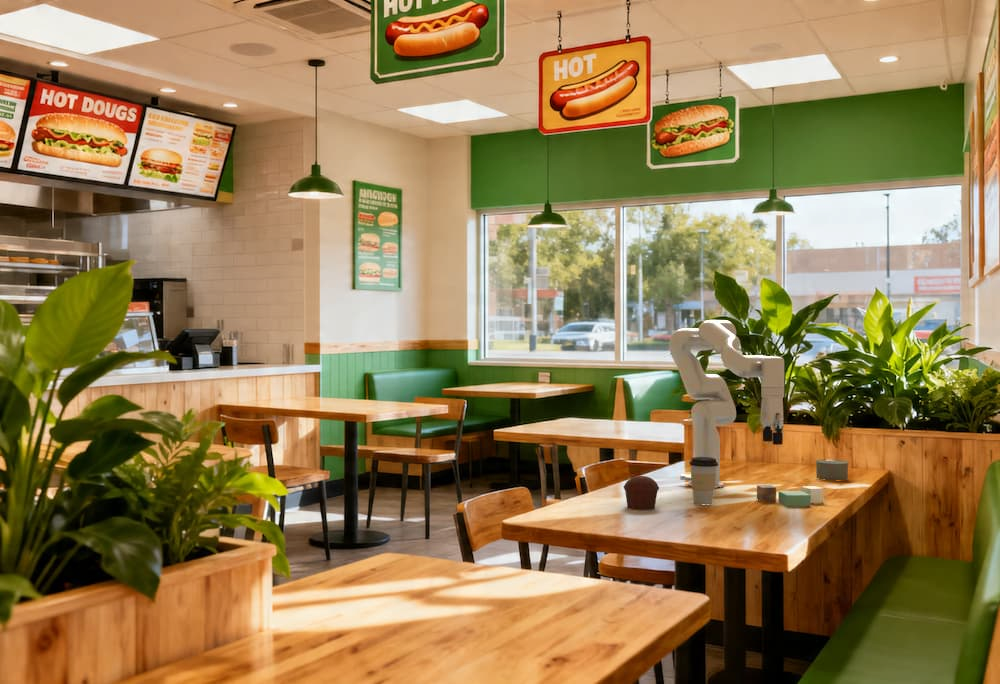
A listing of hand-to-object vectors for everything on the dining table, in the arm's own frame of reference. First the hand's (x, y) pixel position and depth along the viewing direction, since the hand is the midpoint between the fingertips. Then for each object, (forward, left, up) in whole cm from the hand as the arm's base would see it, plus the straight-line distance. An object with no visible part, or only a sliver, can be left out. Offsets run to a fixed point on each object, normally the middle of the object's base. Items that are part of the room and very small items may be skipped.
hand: (772, 442), depth 320 cm
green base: (+5, -8, -20) cm, 22 cm away
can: (+38, +46, -20) cm, 63 cm away
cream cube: (+12, -4, -20) cm, 23 cm away
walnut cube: (-3, -2, -20) cm, 20 cm away
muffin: (-48, -15, -20) cm, 53 cm away
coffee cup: (-26, -8, -20) cm, 33 cm away
